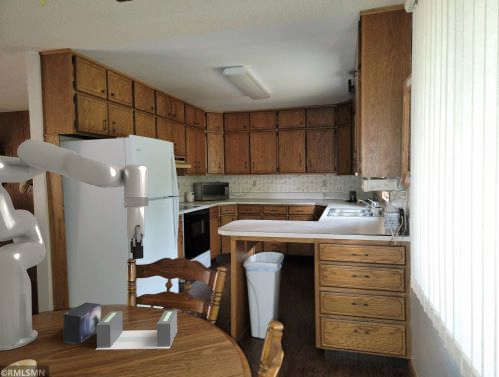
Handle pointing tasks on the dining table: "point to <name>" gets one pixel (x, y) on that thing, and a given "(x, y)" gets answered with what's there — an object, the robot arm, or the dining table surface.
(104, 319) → the block
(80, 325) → the small box
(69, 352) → the dining table surface
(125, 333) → the rail board
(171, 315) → the block
